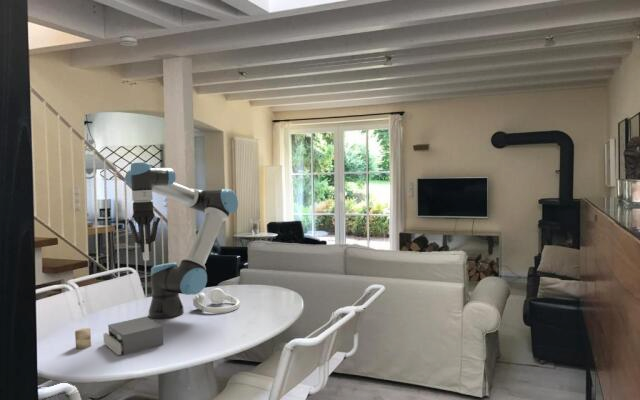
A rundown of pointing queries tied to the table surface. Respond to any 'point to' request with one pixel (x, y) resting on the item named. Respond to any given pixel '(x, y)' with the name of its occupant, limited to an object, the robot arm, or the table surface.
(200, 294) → the headphones
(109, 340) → the tray
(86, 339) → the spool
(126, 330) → the housing
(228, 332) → the table surface
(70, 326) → the table surface
